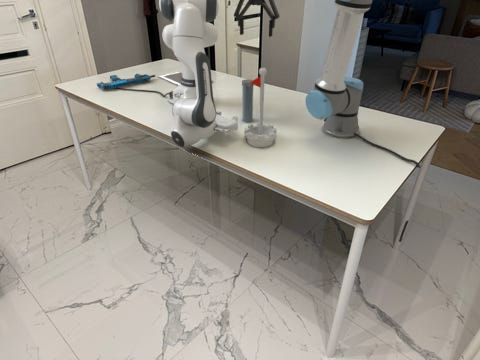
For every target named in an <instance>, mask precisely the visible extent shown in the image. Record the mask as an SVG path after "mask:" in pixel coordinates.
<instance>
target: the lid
mask: <svg viewBox="0 0 480 360" xmlns="http://www.w3.org/2000/svg"><path fill="white" fill-rule="evenodd" d="M253 80H254V79H250V78H249V79H248V78H247V79H242V80H241V86H244V87H252V86H253V87H254V86H255V85H253V84H251V83H250V82H252V81H253Z"/></svg>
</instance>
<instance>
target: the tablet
mask: <svg viewBox="0 0 480 360" xmlns="http://www.w3.org/2000/svg"><path fill="white" fill-rule="evenodd" d="M157 77H158V78H159V79H162V80H165V81H167V82H169V83H172V84H174V85H176V86H178V85H179V84H181V80H179V79H181V78H180V77H182V70H180V71H175V72H171V73H167V74H163V75H157ZM212 83H214V81H213V80H212Z"/></svg>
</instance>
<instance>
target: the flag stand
mask: <svg viewBox="0 0 480 360" xmlns="http://www.w3.org/2000/svg"><path fill="white" fill-rule="evenodd" d="M267 73H268V71H267V69H266V68H265V67H260V68H259V70H258V74H259V76H258V77H256V78H255V79H252V80H253V81H252V82H250V83H251V84H253V85H254V86H256V87H257V88H259V115H258V122H256V125H254V124H253V123H250V124H248V125H247V127H245V128H244V137H246V138H247V139H246V141H247V143H248V145H250V146H253V147H255V148H256V147H257V148H267V147H269V146H272V145H273V144H274V142H275V140H274V139H276V138H277V132H278V131H277V130H278V129H277V127H274V124H271V123H268V124H267V125H264V102H265V81H266V80H265V79H266V78H265V77H266V75H267Z"/></svg>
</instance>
